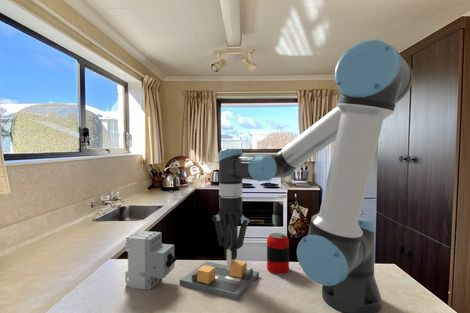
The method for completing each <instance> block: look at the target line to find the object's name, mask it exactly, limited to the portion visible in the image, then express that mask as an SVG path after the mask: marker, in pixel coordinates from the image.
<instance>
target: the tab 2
mask: <svg viewBox="0 0 470 313" xmlns="http://www.w3.org/2000/svg"><path fill="white" fill-rule="evenodd" d="M247 265H248V264H247V262H246V261H242V260H237V259H235V261H234V262H232V263H231V264H230V275H231V276H235V277H240V278H242V277H243V276H244V275H245V273H246V272H247V270H248V269H247V268H248V267H247Z"/></svg>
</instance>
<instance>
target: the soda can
mask: <svg viewBox="0 0 470 313" xmlns="http://www.w3.org/2000/svg"><path fill="white" fill-rule="evenodd" d="M266 269H267V270H268V272H269V273H272V274H274V275H275V274H276V275H283V274H286V273H288V272H289V271H290V239H289V238H288V237H287V234H285V233H281V232H274V233H270V234H269V236H268V237H267V239H266Z"/></svg>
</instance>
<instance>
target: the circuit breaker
mask: <svg viewBox="0 0 470 313" xmlns="http://www.w3.org/2000/svg"><path fill="white" fill-rule="evenodd" d="M162 234H163V233H162V231H161V232H160V231H145V230H142V231H141V230H139V231H137V232H135V233H133V234H131V235H129V236H127V237H125V239H126V242H125V244H124V246H125V248H124V249H125V250H124V251H125V252H126V253H127V270H126V271H125V272H124V273H125V274H124V275H125V288H127V287H129V288H133V289H142V290H143V289H144V290H151V289H152V288H153V287H154V286H155V285H156V284H157V283H158V282H159V281H160V280H161V279H164V278H165V277H166V276H167V275H168V274H169V273H171V271H173V270H174V269H175V262H177V256H175V244H168V243H163V242H162V240H163V238H162Z"/></svg>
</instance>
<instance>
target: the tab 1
mask: <svg viewBox="0 0 470 313" xmlns="http://www.w3.org/2000/svg"><path fill="white" fill-rule="evenodd" d="M214 279H215V267H211V266H207V265H204V266H202V267H201V268H199V269H198V270H197V281H198V282H202V283H206V284H209V283H210V282H212V281H213V280H214Z"/></svg>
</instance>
